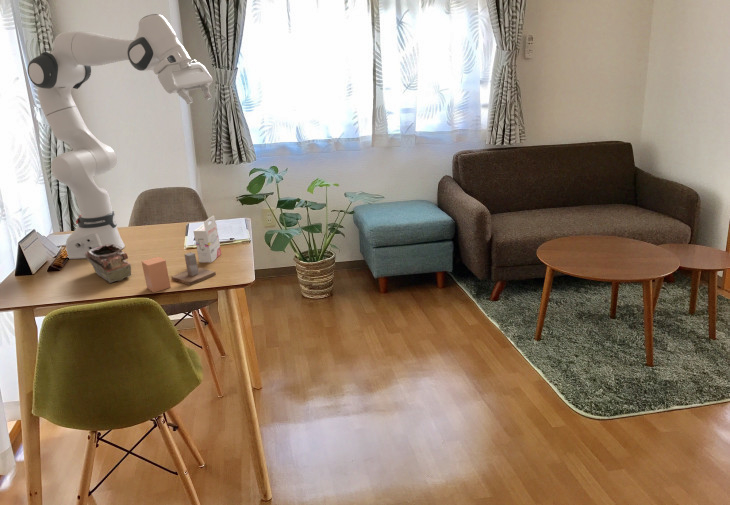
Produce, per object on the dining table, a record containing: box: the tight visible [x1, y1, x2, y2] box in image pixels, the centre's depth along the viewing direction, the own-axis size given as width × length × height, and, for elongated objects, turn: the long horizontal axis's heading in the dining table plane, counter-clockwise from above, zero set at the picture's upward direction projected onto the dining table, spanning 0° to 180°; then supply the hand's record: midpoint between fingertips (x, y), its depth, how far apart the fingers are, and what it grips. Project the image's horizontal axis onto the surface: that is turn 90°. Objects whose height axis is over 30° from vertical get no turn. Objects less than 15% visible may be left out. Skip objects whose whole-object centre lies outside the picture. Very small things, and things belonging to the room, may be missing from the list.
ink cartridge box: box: [192, 215, 222, 263], centre depth 218 cm, size 9×5×15 cm, turn 168°
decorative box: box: [85, 244, 132, 284], centre depth 210 cm, size 13×20×10 cm, turn 35°
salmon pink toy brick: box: [141, 256, 172, 293], centre depth 196 cm, size 6×6×9 cm
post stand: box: [171, 252, 217, 286], centre depth 203 cm, size 10×10×8 cm
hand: (200, 100), depth 198 cm, fingers open, 8 cm apart
